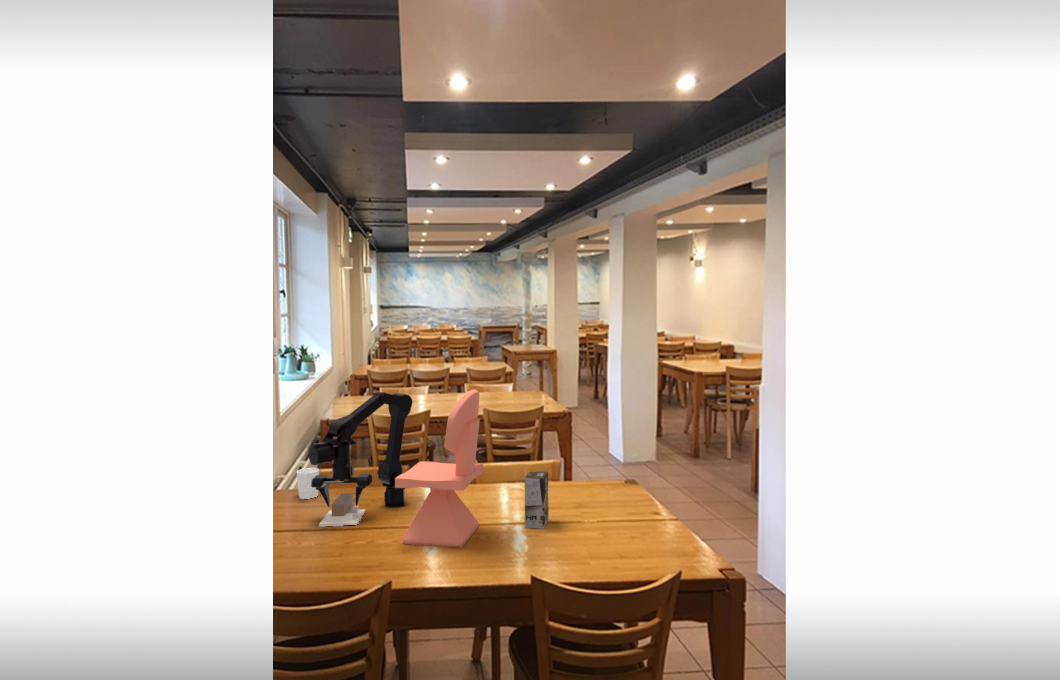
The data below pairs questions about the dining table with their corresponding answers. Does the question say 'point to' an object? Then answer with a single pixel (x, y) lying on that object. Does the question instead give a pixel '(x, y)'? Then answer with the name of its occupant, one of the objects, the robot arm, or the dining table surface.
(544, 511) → the coffee box
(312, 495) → the white cup
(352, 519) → the display rest
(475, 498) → the dining table surface
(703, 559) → the dining table surface
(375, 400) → the robot arm
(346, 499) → the gray cuboid brick
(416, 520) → the chair
